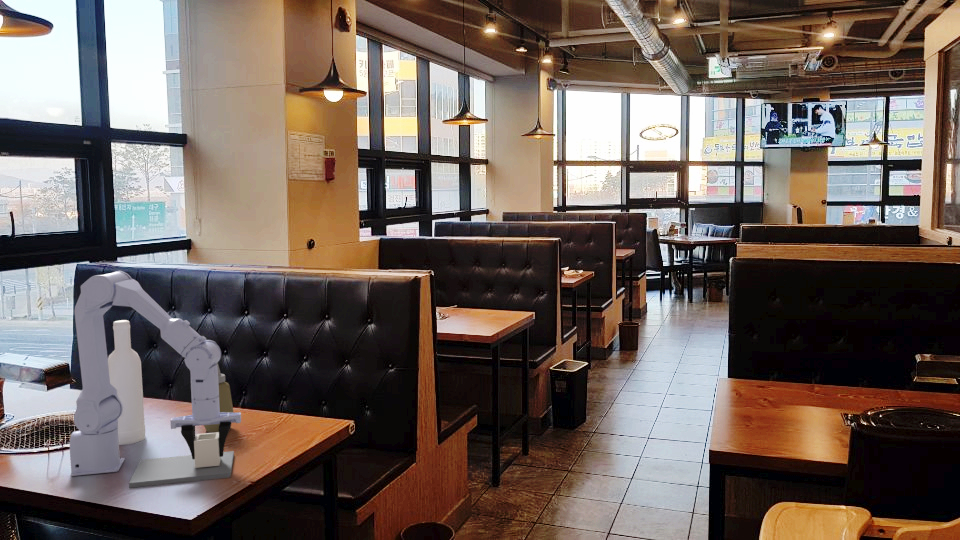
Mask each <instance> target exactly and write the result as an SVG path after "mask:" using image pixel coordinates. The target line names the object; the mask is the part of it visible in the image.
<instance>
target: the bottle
mask: <svg viewBox="0 0 960 540" xmlns="http://www.w3.org/2000/svg"><path fill="white" fill-rule="evenodd" d="M112 325H113V326H112V330H113V338H114V339H113V340H114V350H112V352H111V353H110V354H109V355H108V356H107V357H108V367H109V376H110V384H111V385H112V386H113V387H114V388H116V390H117V395H118V398H119V399H120V401H121V403H122V406H123V411H122V414H121V416H120V417H119V418H118V437H119V446H127V445H132V444H137V443H140V442H142V441H143V440H145V438H146V425H145V412H144V410H145V408H144V392H143V391H144V390H143V377H142V376H143V373H142V361H141V357H140V356H139V354H138V352H137V351H135V349H133V348H132V343H131V342H132V340H131V339H132V338H131V322H130V321H129V320H127V319H121V320H120V319H119V320H115V321H113V323H112Z"/></svg>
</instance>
